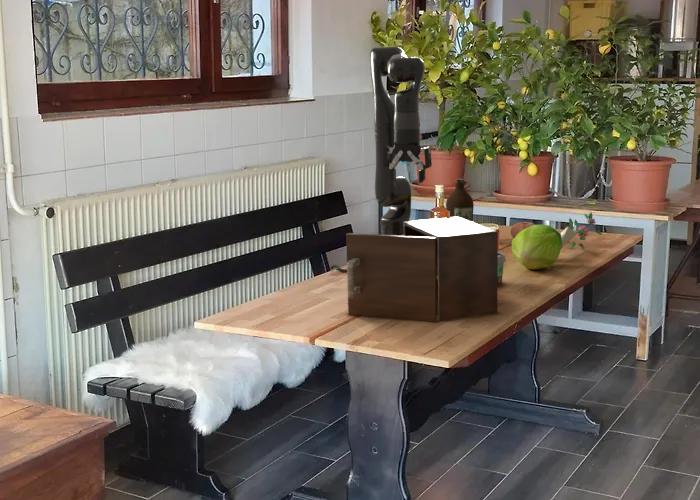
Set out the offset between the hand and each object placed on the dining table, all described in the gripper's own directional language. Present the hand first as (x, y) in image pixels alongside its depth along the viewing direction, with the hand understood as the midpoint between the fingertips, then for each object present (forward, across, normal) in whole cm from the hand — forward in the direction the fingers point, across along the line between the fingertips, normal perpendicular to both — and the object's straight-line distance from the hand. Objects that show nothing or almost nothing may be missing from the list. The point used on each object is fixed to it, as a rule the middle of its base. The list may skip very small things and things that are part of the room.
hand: (407, 182), depth 277 cm
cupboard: (+36, +14, -4) cm, 39 cm away
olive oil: (+36, -7, +85) cm, 93 cm away
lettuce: (+36, +29, +49) cm, 67 cm away
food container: (+36, +21, +24) cm, 49 cm away
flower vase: (+36, +36, +78) cm, 93 cm away
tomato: (+36, +17, +93) cm, 101 cm away
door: (+36, +2, -24) cm, 43 cm away
